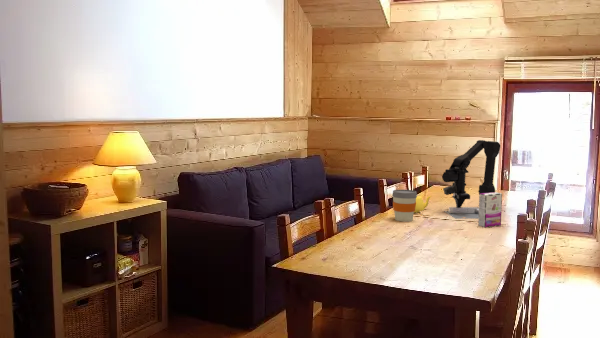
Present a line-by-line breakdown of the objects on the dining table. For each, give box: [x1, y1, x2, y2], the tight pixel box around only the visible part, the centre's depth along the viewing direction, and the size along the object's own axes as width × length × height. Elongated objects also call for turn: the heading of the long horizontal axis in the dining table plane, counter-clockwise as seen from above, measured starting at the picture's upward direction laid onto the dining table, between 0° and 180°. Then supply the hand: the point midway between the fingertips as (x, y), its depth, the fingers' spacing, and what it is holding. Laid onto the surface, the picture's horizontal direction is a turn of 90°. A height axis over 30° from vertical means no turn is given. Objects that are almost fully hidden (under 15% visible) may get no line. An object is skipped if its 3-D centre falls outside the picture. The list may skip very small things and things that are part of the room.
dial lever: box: [448, 206, 479, 214], centre depth 312 cm, size 18×5×3 cm, turn 93°
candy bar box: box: [477, 191, 503, 228], centre depth 288 cm, size 11×5×16 cm, turn 117°
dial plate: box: [443, 210, 479, 220], centre depth 309 cm, size 20×20×2 cm
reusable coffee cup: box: [391, 189, 418, 223], centre depth 300 cm, size 12×13×15 cm
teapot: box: [414, 195, 432, 214], centre depth 323 cm, size 14×13×10 cm
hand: (458, 209), depth 314 cm, fingers closed
